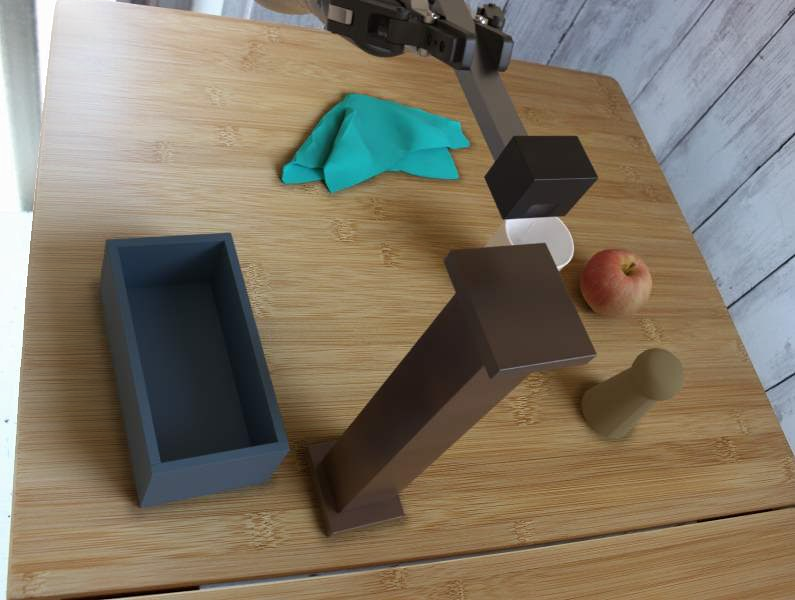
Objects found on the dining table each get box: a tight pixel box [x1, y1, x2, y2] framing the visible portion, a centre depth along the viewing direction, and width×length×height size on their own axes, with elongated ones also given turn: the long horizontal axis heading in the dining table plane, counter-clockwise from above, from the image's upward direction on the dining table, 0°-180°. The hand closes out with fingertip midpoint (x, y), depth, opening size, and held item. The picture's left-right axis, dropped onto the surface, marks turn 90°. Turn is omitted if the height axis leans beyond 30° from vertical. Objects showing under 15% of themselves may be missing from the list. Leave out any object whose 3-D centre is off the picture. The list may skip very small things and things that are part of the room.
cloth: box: [281, 93, 471, 194], centre depth 96 cm, size 26×14×2 cm, turn 112°
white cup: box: [484, 217, 575, 272], centre depth 88 cm, size 8×8×10 cm
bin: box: [98, 232, 291, 509], centre depth 70 cm, size 21×11×8 cm, turn 19°
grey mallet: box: [431, 0, 599, 221], centre depth 49 cm, size 16×4×4 cm, turn 19°
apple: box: [579, 248, 653, 320], centre depth 94 cm, size 8×8×8 cm
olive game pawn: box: [580, 347, 686, 440], centre depth 84 cm, size 6×6×11 cm
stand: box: [303, 243, 598, 539], centre depth 61 cm, size 8×7×32 cm
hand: (487, 54), depth 50 cm, fingers closed on grey mallet, 2 cm apart
